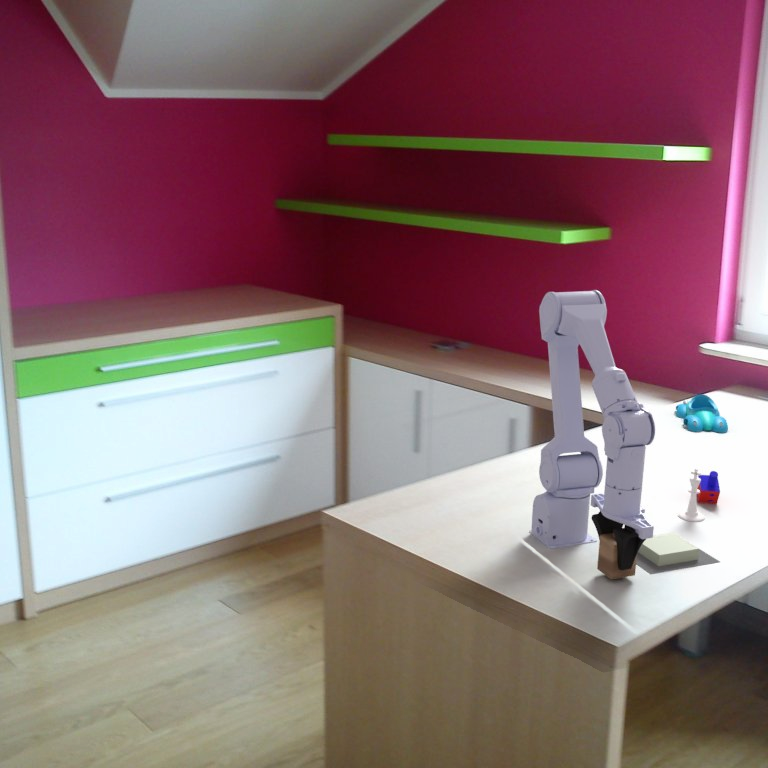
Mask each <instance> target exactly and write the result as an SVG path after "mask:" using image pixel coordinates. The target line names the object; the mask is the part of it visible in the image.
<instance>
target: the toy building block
mask: <svg viewBox="0 0 768 768" xmlns="http://www.w3.org/2000/svg"><path fill="white" fill-rule="evenodd" d="M697 477H698V478H700V479H701V482H700V484H699V486H698V488H697V489H698V490H700V493H699V494H696V499H697V502H698V503H702V504H705V503H706V504H715V505H716V504H718V501H719V498H720V493H721V490H720V483H719V473H718V472H717V471H715V470H711V471H710V472H709V474H701V475H700V476H698V475H697Z"/></svg>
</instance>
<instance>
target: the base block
mask: <svg viewBox="0 0 768 768" xmlns="http://www.w3.org/2000/svg"><path fill="white" fill-rule="evenodd" d="M699 549H700V548H699V547H698V546H696V545H694V544H693V543H690V542H689V540H686V539H684V538H683V537H681V536H680V535H678V534H676V533H675V532H669V533H664V534H663V533H662V534H658V535H653V538H648V539H646V540H645V541H644V542H643V544H642V545H641V547H640V549H639V551H638V553H640V554H641V555H643V556H644V557H646V558H647V559H649V560H650V561H652V562H653V563H654V564H656V565H657V566H663V565H669V564H675V563H681V562H686V561H692V560H698V556H699Z"/></svg>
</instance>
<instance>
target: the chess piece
mask: <svg viewBox="0 0 768 768" xmlns="http://www.w3.org/2000/svg"><path fill="white" fill-rule="evenodd" d="M698 471H699V469H698V468H694V470H691V471H690V474H691V475H694V476H691V477H689V483H690V486H691V487H690V488H689V489H688V490H687V491H688V493H690V499H689V501H688V506H687V508H686V509H685V510H683V511H682V510H681V511H680V512H678V514H677V515H678V517H679V518H680V519H681V520H683V521H687V522H695V523H698V522H699V523H700V522H703V521H704V520H705V518H706V517H705V515H704V514H702V512H699V510H698V506H697V504H698V503H697V502H698V500H697V496H696V494H699V493H700V490H698V489H697V488H698V486H699V484H700V482H701V479H700V478H698V476H700V475H702V473H701V472H698Z"/></svg>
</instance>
